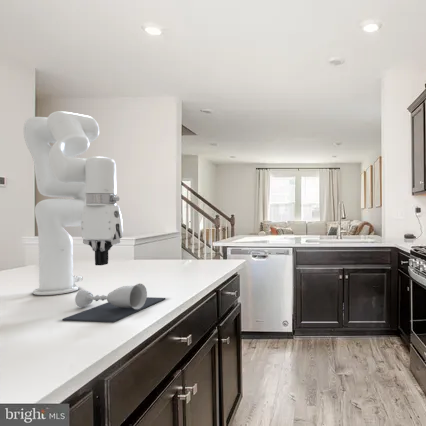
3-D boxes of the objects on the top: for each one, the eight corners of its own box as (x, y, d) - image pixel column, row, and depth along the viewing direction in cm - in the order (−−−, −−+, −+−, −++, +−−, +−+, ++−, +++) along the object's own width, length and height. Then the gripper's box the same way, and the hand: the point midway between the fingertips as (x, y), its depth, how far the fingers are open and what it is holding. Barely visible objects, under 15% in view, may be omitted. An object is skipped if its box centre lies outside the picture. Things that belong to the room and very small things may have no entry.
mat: (123, 298, 117) (123, 296, 117) (165, 299, 116) (165, 297, 116) (62, 320, 94) (62, 318, 94) (113, 322, 92) (113, 320, 92)
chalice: (78, 316, 104) (135, 314, 101) (68, 297, 101) (126, 294, 98) (95, 299, 111) (149, 297, 107) (86, 281, 108) (141, 278, 105)
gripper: (133, 200, 109) (134, 263, 109) (87, 201, 111) (87, 262, 111) (116, 200, 101) (117, 267, 102) (66, 200, 103) (67, 266, 103)
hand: (101, 264), depth 106 cm, fingers closed
